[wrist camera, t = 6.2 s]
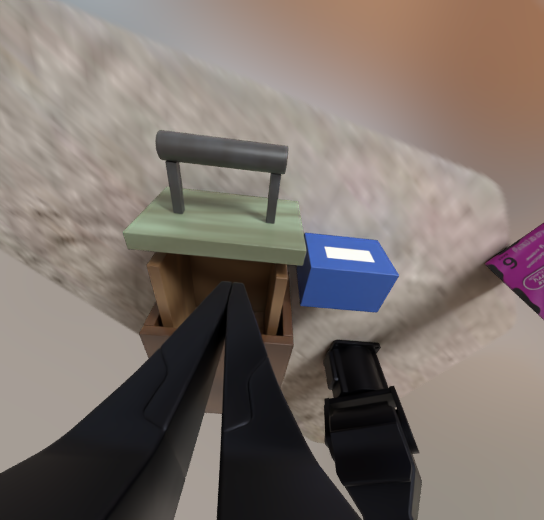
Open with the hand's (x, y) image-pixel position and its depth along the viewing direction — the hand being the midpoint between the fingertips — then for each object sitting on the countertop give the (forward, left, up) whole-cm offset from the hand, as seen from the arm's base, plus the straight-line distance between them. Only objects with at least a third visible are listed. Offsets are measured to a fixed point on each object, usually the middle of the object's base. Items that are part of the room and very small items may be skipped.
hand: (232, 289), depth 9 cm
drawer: (+2, +5, -11) cm, 13 cm away
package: (-8, +7, -12) cm, 16 cm away
